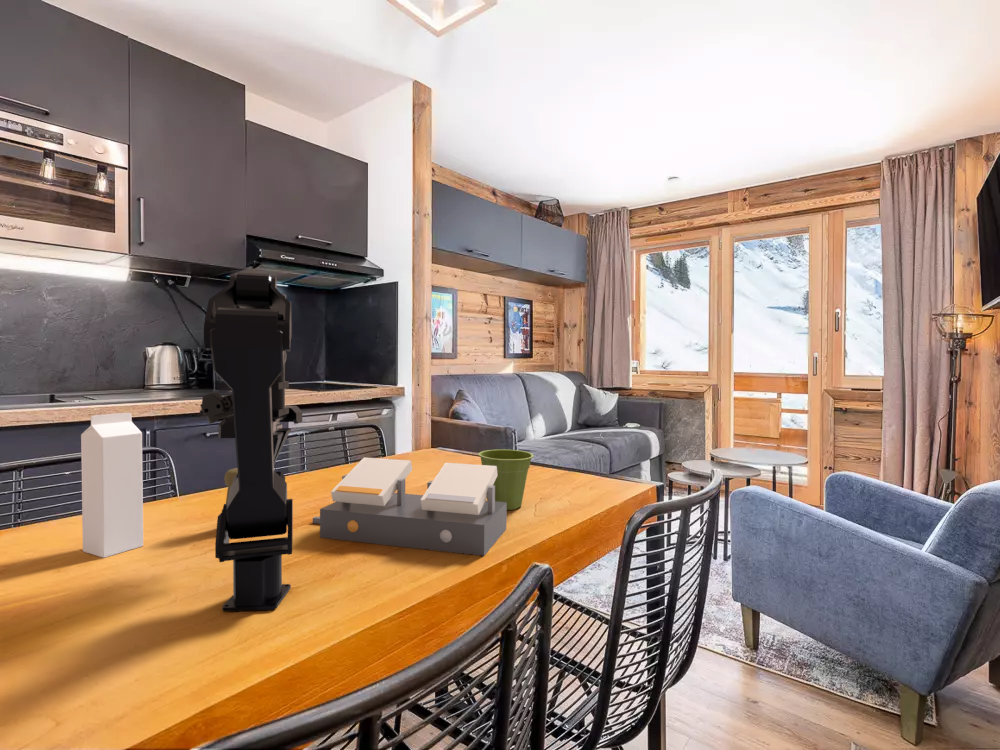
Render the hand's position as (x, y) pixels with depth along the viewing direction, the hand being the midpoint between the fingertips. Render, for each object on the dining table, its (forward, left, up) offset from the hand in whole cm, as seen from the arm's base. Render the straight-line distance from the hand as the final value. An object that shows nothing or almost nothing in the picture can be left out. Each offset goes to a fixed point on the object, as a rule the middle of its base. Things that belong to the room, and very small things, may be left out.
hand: (265, 476), depth 82 cm
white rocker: (+8, -30, -4) cm, 32 cm away
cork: (+16, +10, -13) cm, 23 cm away
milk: (+6, +26, -13) cm, 30 cm away
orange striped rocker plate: (+14, -14, -4) cm, 20 cm away
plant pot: (+28, -40, -13) cm, 51 cm away
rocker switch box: (+12, -19, -13) cm, 26 cm away
